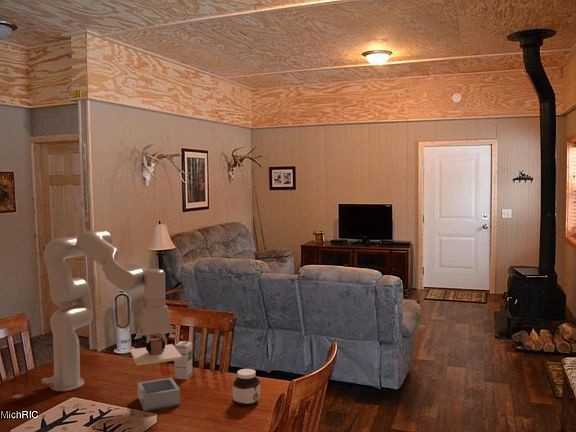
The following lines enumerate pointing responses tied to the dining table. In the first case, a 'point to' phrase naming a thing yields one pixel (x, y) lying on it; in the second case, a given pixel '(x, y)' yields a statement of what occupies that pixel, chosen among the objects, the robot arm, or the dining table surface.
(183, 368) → the syrup box
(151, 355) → the lid
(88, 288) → the robot arm
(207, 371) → the dining table surface
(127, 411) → the dining table surface
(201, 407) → the dining table surface
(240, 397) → the spread jar
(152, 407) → the dish
